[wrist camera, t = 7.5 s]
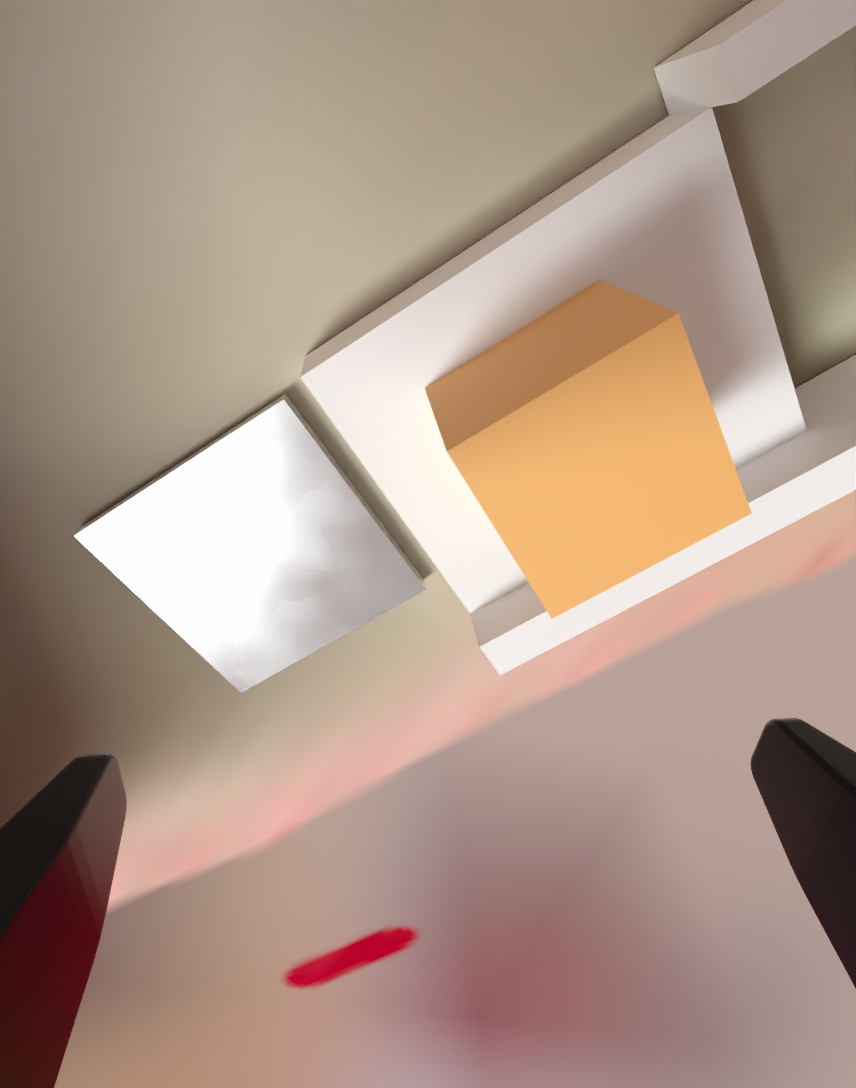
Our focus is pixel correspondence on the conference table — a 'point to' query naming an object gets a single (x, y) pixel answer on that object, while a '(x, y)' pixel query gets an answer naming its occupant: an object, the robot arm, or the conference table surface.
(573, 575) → the orange cube
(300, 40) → the conference table surface
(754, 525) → the white box
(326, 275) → the conference table surface
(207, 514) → the plate
